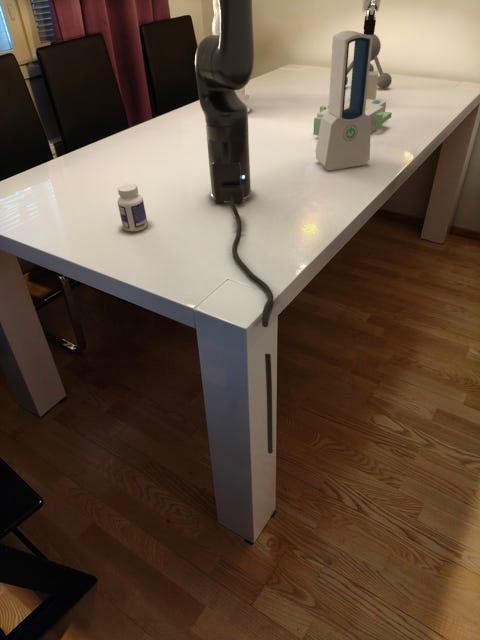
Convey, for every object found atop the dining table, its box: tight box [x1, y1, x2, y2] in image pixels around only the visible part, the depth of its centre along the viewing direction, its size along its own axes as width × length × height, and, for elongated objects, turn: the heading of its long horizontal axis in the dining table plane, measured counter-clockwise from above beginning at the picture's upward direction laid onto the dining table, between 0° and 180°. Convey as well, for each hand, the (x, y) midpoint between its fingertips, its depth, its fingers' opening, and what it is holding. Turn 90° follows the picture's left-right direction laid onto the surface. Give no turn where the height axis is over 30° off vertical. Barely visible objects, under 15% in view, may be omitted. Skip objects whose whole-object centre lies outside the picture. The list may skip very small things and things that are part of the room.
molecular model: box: [346, 10, 393, 90], centre depth 184 cm, size 24×22×30 cm
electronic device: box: [315, 30, 373, 171], centre depth 119 cm, size 12×8×30 cm, turn 105°
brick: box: [367, 70, 379, 100], centre depth 167 cm, size 5×8×11 cm, turn 79°
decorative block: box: [313, 98, 393, 136], centre depth 149 cm, size 26×6×20 cm
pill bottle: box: [117, 182, 148, 232], centre depth 102 cm, size 5×5×9 cm
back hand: (368, 32), depth 157 cm, fingers open, 9 cm apart
